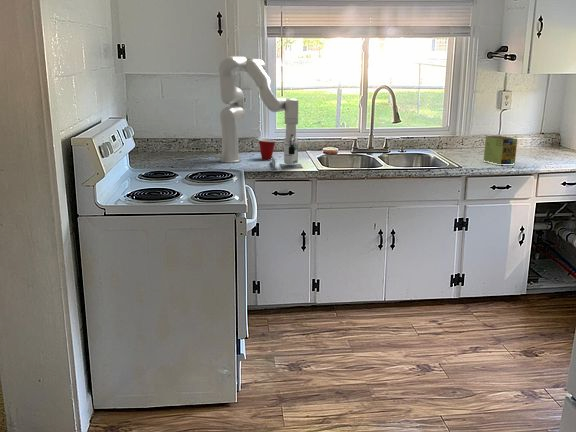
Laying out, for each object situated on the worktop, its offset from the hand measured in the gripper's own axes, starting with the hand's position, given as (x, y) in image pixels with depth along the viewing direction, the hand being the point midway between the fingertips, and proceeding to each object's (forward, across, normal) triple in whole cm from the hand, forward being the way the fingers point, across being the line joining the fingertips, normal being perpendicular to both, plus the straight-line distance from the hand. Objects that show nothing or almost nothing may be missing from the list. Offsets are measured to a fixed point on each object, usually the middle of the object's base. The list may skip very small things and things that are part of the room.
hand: (290, 152), depth 336 cm
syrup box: (+6, 0, 0) cm, 6 cm away
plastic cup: (+8, -25, -12) cm, 29 cm away
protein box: (+7, -3, +123) cm, 123 cm away
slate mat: (+8, 0, 0) cm, 8 cm away
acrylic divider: (+8, 0, -10) cm, 13 cm away
